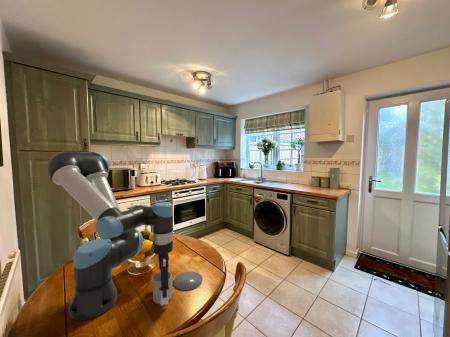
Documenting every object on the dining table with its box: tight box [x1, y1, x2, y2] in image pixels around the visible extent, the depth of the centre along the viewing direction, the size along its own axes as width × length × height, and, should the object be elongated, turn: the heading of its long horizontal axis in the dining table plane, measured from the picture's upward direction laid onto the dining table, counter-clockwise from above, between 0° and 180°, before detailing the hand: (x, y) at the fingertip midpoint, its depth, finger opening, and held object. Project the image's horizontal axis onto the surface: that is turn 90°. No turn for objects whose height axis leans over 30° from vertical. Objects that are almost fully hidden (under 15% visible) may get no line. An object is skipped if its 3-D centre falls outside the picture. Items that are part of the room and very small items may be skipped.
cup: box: [152, 271, 173, 305], centre depth 77 cm, size 7×10×9 cm
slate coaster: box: [172, 270, 203, 291], centre depth 87 cm, size 13×13×1 cm
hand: (163, 292), depth 78 cm, fingers open, 13 cm apart
